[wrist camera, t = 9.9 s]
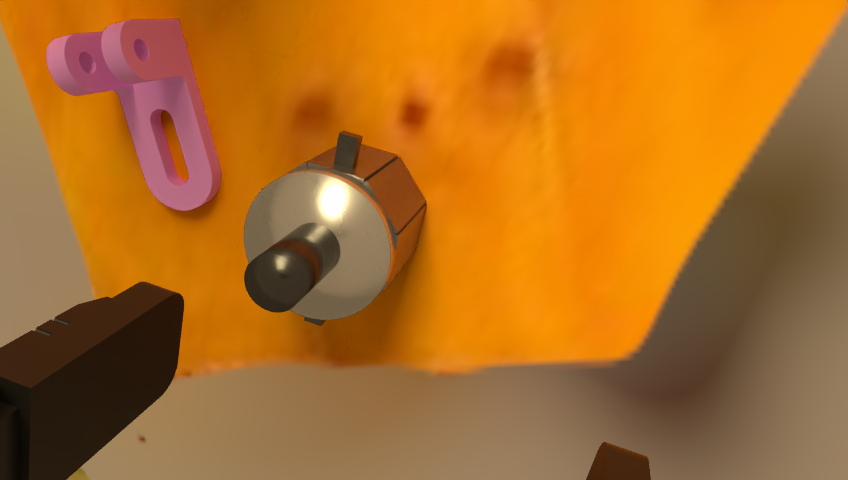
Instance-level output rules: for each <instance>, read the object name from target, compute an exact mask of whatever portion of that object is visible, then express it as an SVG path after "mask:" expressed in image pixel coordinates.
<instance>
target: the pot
mask: <svg viewBox="0 0 848 480" xmlns="http://www.w3.org/2000/svg"><path fill="white" fill-rule="evenodd" d="M362 137H363V136H360V135H357V134H353V133H350V132H347V131H342V132H340V133H339V137H338V142H337V146H336V147H334V148H332V149H330V150H328V151H326V152H324V153H322V154H320V155H318V156H317V157H315V158H313V159H311V160H309V161H307V162H305V163H303V164H302V165H300V166H298V167H297V168H295V169H294V170H292V171H290V172H289V173H291V172H293V171H296V170H301V169H305V168H325V169H330V170H334V171H337V172H340V173H343V174H345V175H347V176H349V177H351V178H353V179H355V180H356V181H358V182H359V183H361V184H362V185H363V186H365V187H366V188H367V189H368V190H369V191H370V192H371V193H372V194H373V195H374V196H375V197H376V198H377V200H378V201H379V202H380V204H381V205H382V207H383V208H384V210H385V212H386V214H387V216H388V218H389V220H390V223H391V225H392V229H393V233H394V239H395V260H394V265H393V269H392V272H391V274H390V277H389V279H388V281H387V283H386V284H385V286H384V287H383V289H382V290H381V291H380V292H379V293H381V292H383V291H385V289H386V288H387V287H388V285H389V284H390V283H391V282H392V280H393V279H394V278H395V276H396V275H397V274H398V272H399V271H400V270H401V269H402V267H403V266H404V265H405V263H406V262H407V261H408V259H409V258H410V257H411V256H412V254H413V253H414V252H415V250H416V246H417V242H418V238H419V234H420V230H421V226H422V222H423V218H424V214H425V210H426V206H427V204H424V203H425V202H426V200H425V198H424V197H423V195H422V193H421V192H420V190H419V188H418V187H417V185H416V183H415V182H414V180H413V178H412V176H411V175H410V173H409V171H408V170H407V168H406V166H405V165H404V163H403V161H402V160H401V158H400V157H399V158H397V155H396V154H392V153H389V152H385V151H382V150H379V149H375V148H372V147H368V146H365V145H362V144H361V142H362ZM287 174H288V173H287ZM285 175H286V174H285ZM264 188H265V187H264ZM264 188H263V189H264ZM263 189H261V190H263ZM259 193H260V192H259ZM304 320H305V321H308V322H311V323H314V324H317V325H320V326H321V325H322V324H323V323H324V322H325V321H326V320H320V319H313V318H309V317H305V318H304Z"/></svg>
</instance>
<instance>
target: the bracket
mask: <svg viewBox="0 0 848 480" xmlns="http://www.w3.org/2000/svg"><path fill="white" fill-rule="evenodd" d="M46 58H47V65H48V69H49V71H50V74H51V76H52V78H53V79H54V81H55V82H56V83H57V85H58V86H59V87H60V88H61V89H62V90H64V91H65V92H67V93H68V94H71V95H75V96H80V95H86V94H92V93H99V92H105V91H111V90H113V91H115V92H116V93H117V94H118V95H119V98H120V101H121V104H122V108H123V111H124V114H125V117H126V120H127V123H128V127H129V130H130V133H131V136H132V139H133V143H134V146H135V149H136V152H137V155H138V158H139V162H140V165H141V168H142V171H143V174H144V177H145V180H146V183H147V185H148V187H149V189H150V191H151V192H152V193H153V195H154V196H155V197H156V198H157V199H158V200H159V201H160V202H162V203H163V204H164V205H166V206H168V207H170V208H173V209H176V210H182V211H185V210H192V209H195V208H197V207H199V206H201V205H203V204H205V203H207V202H209V201H210V200H211V199H212V198H213V197H214V196H215V195H216V193H217V191H218V189H219V187H220V183H221V168H220V164H219V160H218V156H217V153H216V149H215V146H214V142H213V139H212V135H211V132H210V128H209V125H208V121H207V118H206V114H205V110H204V107H203V103H202V100H201V96H200V93H199V89H198V86H197V82H196V79H195V75H194V72H193V68H192V64H191V61H190V57H189V54H188V50H187V47H186V43H185V40H184V36H183V33H182V29H181V26H180V22H179V19H133V20H127V21H123V22H119V23H115V24H111V25H109V26H107V27H106V28H105V30H104V31H103V32H94V33H75V34H71V35H67V36H63V37H59V38H56V39H54V40H53V41H52V42H51V43H50V44H49V46H48V49H47V54H46ZM163 110H166V111H167V112H168V113H169V114H170V115H171V117H172V119H173V122H174V125H175V129H176V132H177V136H178V139H179V142H180V146H181V149H182V152H183V156H184V159H185V163H186V166H187V169H188V173H189V178H188V181H187V182H186V181H184V180H182V179H181V178H180V177H179V176H178V174H177V172H176V169H175V165H174V162H173V159H172V155H171V152H170V149H169V146H168V142H167V139H166V136H165V132H164V129H163V126H162V122H161V113H162V111H163Z"/></svg>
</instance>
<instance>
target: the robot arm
mask: <svg viewBox="0 0 848 480" xmlns="http://www.w3.org/2000/svg"><path fill="white" fill-rule="evenodd" d="M183 312H184V300H183V297H182V295H181V294H179V293H176V292H173V291H170V290H167V289H164V288H162V287H159V286H156V285H153V284H150V283H147V282H139V283H137V284H135V285H134V286H132V287H130V288H129V289H127V290H125V291H123V292H122V293H120V294H118V295H117V296H115V297H113V298H109V297H104V298H100V299H97V300H93V301H89V302H86V303H82V304H78V305H76V306H74V307H72V308H71V309H69V310H67V311H65V312H64V313H62V314H60V315H58V316H56V317H55V319H54V321H53V320H49V321H47V322H46V323H44V324H42V325H40V326H39V327H37V328H36V330H35V331H30V332H28V333H26V334H24V335H23V336H21V337H19V338H17V339H15V340H14V341H12V342H10V343H9V344H7V345H5V346H3V347H1V348H0V480H66V479H67V478H69V477H70V476H71V475H72V474H73V473H74V472H75V471H77V470H78V469H79V468H80V467H81V466H82V465H83V464H84V463H86V462H87V461H88V460H89V459H90V458H91V457H92V456H94V455H95V454H96V453H97V452H98V451H99V450H100V449H102V448H103V447H104V446H105V445H106V444H107V443H108V442H110V441H111V440H112V439H113V438H114V437H115V436H116V435H117V434H118V433H120V432H121V431H122V430H123V429H124V428H125V427H127V425H129V424H130V423H131V422H132V421H133V420H134V419H136V418H137V417H138V416H139V415H140V414H141V413H143V412H144V411H145V410H146V409H147V408H148V407H149V406H150V405H152V404H153V403H154V402H155V401H156V400H157V399H158V398H159V397H161V396H162V395H163V394H164V392H165V391H166V390H167V388H168V387H169V385H170V384H171V382H172V380H173V377H174V375H175V372H176V369H177V364H178V356H179V347H180V338H181V330H182V321H183ZM586 480H651V478H650V469H649V461H648V458H647V456H644V455H641V454H638V453H635V452H632V451H629V450H627V449H624V448H621V447H618V446H615V445H612V444H609V443H606V442H603V443H602V445H601V446H600V448H599V450H598V452H597V454H596V457H595V459H594V461H593V464H592V466H591V469H590V471H589V474H588V476H587V479H586Z"/></svg>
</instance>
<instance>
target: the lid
mask: <svg viewBox="0 0 848 480" xmlns="http://www.w3.org/2000/svg"><path fill="white" fill-rule="evenodd" d="M244 247H245V252H246V256H247V259H248V262H249V264H248V266H247V268H246V271H245V276H244V281H245V287H246V290H247V292H248V294H249V295H250V297H251V298H252V300H253V301H254V302H255V303H256V304H257V305H259V306H260V307H262V308H263V309H265V310H268V311H271V312H285V311H288V310H290V311H292V312H294V313H297V314H299V315H302V316H305V317H309V318H313V319H320V320H333V319H340V318H344V317H348V316H350V315H353V314H355V313H357V312H359V311H360V310H362V309H364V308H365V307H366V306H367V305H369V304H370V303H371V302H372V301H373V300H374V299H375V297H376V296H377V295H378V294H379V292H380V291H381V290H382V289H383V287H384V286H385V284H386V283H387V281H388V279H389V277H390V274H391V272H392V269H393V265H394V260H395V239H394V233H393V229H392V225H391V223H390V220H389V218H388V216H387V214H386V212H385V210H384V208H383V207H382V205H381V204H380V202H379V201H378V200H377V198H376V197H375V196H374V195H373V194H372V193H371V192H370V191H369V190H368V189H367V188H366V187H365V186H363V185H362V184H361V183H359V182H358V181H356V180H355V179H353V178H351V177H349V176H347V175H345V174H343V173H340V172H337V171H334V170H330V169H325V168H305V169H301V170H296V171H293V172H291V173H288V174H286V175H284V176H282V177H280V178H279V179H277V180H275V181H273V182H271V183H270V184H269V185H267V186H266V187H265V188H264V189H263V190H262V191H261V192H260V193H259V194H258V195H257V197H256V198H255V199H254V201H253V202H252V204H251V206H250V208H249V211H248V214H247V217H246V221H245V226H244Z"/></svg>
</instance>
